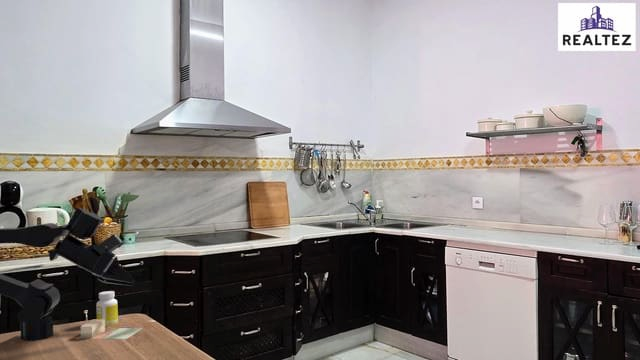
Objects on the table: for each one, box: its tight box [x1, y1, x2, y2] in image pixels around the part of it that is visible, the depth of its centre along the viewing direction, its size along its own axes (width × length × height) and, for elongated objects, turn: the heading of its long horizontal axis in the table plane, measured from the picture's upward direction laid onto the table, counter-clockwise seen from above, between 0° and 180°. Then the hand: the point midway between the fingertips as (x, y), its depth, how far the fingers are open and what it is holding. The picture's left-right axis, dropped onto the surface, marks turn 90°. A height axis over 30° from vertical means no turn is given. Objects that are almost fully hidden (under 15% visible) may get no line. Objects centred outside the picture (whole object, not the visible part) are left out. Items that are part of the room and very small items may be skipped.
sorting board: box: [75, 327, 143, 340], centre depth 124 cm, size 14×10×1 cm
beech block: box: [80, 319, 106, 338], centre depth 123 cm, size 6×3×3 cm, turn 176°
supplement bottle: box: [95, 290, 119, 327], centre depth 133 cm, size 5×5×10 cm
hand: (134, 282), depth 127 cm, fingers open, 9 cm apart
